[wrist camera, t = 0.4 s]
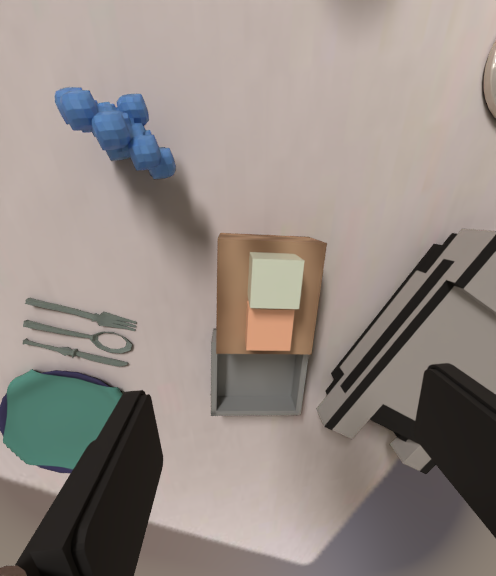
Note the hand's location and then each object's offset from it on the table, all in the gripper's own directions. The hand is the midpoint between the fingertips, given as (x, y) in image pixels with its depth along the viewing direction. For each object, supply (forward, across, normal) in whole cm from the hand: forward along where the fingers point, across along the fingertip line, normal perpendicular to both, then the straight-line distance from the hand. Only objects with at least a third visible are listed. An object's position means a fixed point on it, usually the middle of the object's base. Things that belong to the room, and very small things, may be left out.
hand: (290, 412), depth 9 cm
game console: (+28, -27, +16) cm, 42 cm away
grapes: (+28, +11, -15) cm, 33 cm away
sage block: (+20, -2, 0) cm, 21 cm away
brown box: (+28, -2, +4) cm, 28 cm away
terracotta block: (+20, -2, +6) cm, 22 cm away
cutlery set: (+28, +28, +19) cm, 44 cm away
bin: (+28, -1, +17) cm, 32 cm away
